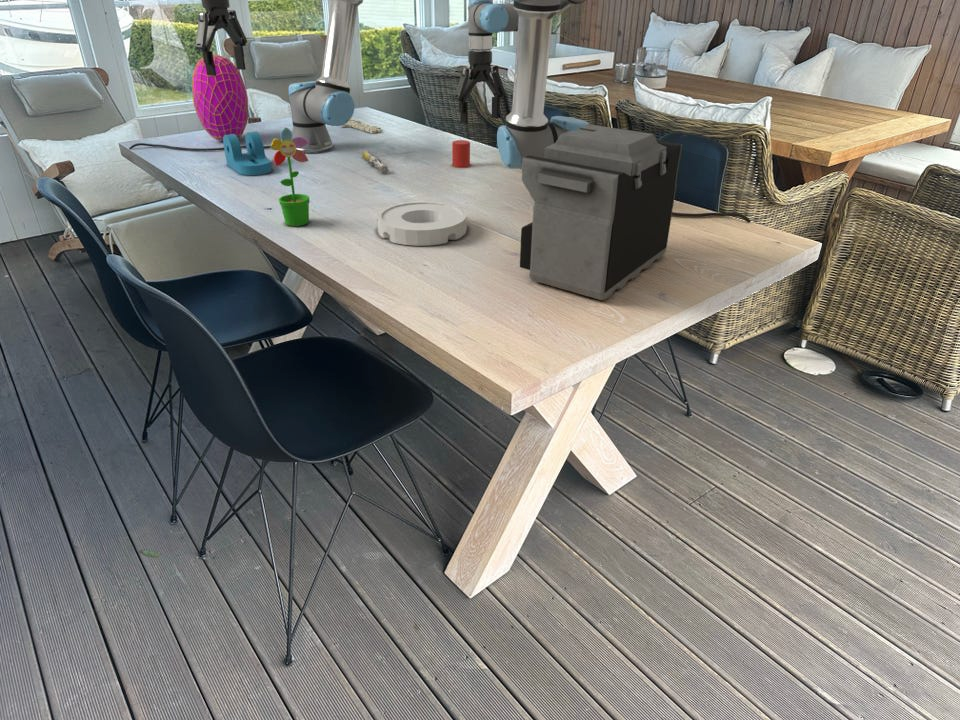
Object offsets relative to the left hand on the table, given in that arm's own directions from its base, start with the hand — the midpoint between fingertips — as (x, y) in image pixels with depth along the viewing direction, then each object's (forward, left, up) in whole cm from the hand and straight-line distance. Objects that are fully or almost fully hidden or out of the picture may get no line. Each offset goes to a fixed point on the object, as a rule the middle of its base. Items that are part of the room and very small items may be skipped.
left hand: (226, 72), depth 207 cm
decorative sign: (-1, +77, -31) cm, 83 cm away
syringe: (+33, +27, -31) cm, 53 cm away
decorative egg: (-35, +36, -31) cm, 59 cm away
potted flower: (+43, -33, -31) cm, 62 cm away
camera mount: (-2, +7, -31) cm, 32 cm away
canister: (+60, +39, -31) cm, 78 cm away
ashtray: (+76, -25, -31) cm, 86 cm away
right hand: (+67, +39, -16) cm, 79 cm away
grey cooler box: (+123, -32, -31) cm, 131 cm away
